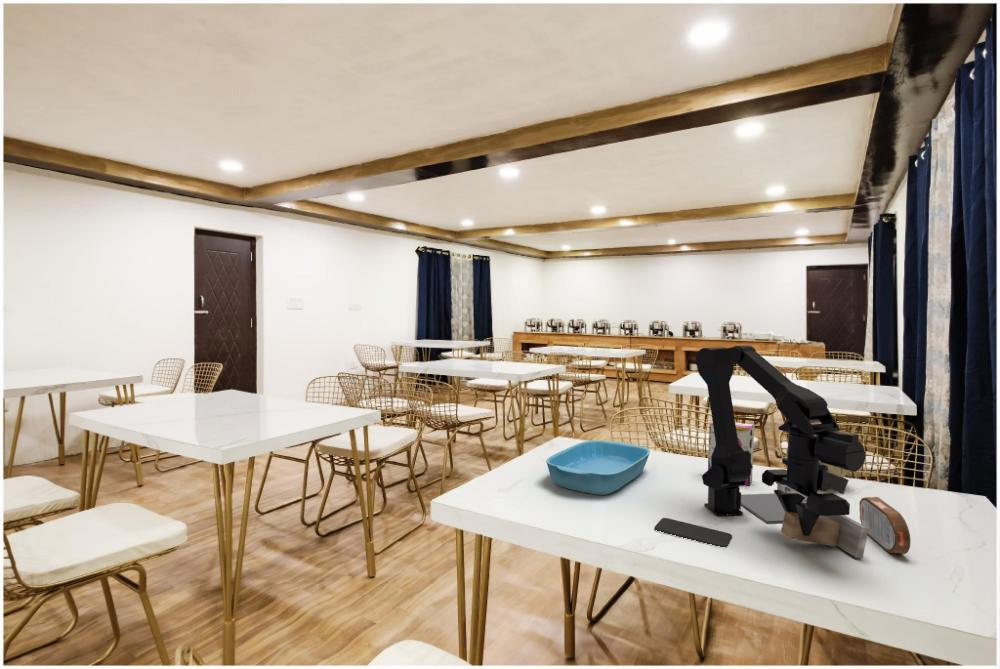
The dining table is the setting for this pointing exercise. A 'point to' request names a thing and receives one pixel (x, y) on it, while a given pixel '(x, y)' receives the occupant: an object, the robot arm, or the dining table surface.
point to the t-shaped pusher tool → (829, 532)
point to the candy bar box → (744, 439)
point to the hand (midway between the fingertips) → (800, 531)
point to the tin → (885, 525)
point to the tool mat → (764, 507)
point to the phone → (693, 532)
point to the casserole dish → (597, 466)
